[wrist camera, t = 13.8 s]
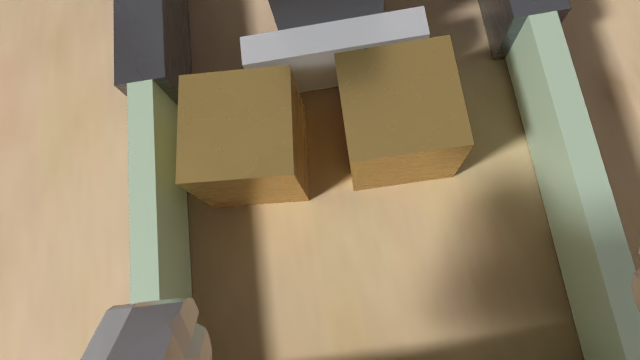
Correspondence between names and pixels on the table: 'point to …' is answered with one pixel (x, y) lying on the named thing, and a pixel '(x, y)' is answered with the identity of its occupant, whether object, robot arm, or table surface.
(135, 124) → the open frame
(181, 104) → the brown wooden cube
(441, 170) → the wooden block
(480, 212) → the table surface
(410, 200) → the table surface
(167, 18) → the slot jig
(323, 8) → the dark grey block
